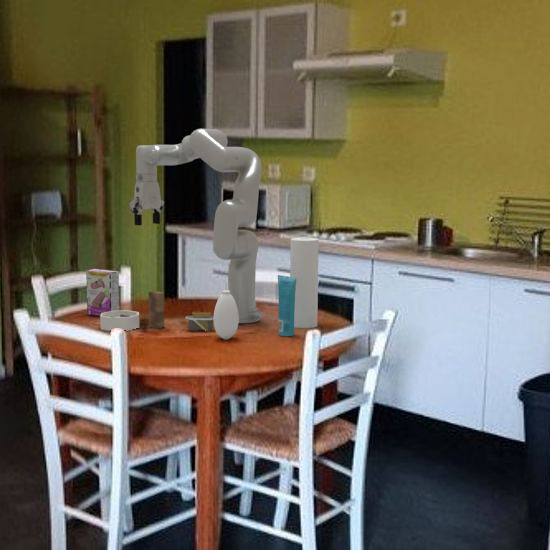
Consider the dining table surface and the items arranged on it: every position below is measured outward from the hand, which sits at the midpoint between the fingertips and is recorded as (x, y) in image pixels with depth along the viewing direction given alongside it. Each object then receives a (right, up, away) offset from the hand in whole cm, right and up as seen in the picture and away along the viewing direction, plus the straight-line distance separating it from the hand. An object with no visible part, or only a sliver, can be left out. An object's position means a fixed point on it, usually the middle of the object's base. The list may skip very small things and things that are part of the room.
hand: (147, 224), depth 305 cm
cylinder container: (+58, -36, -29) cm, 74 cm away
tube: (+52, -39, -44) cm, 78 cm away
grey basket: (+24, -38, -39) cm, 59 cm away
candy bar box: (-13, -34, -15) cm, 40 cm away
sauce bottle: (+33, -39, -50) cm, 72 cm away
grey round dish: (-4, -37, -34) cm, 50 cm away
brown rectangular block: (+9, -37, -34) cm, 51 cm away
